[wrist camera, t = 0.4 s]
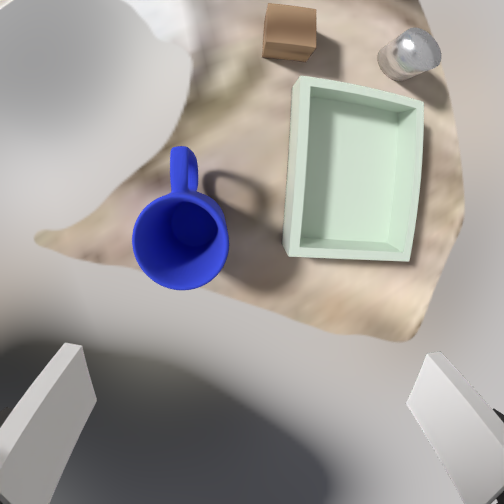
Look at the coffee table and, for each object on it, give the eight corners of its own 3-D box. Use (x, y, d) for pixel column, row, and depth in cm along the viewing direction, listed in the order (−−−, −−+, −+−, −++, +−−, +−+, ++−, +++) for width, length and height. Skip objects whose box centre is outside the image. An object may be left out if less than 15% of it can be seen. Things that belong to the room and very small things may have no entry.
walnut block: (264, 22, 28) (268, 3, 23) (306, 27, 28) (316, 9, 24) (262, 57, 30) (266, 41, 25) (305, 62, 30) (316, 47, 25)
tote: (291, 87, 31) (300, 75, 26) (402, 107, 31) (423, 102, 27) (281, 244, 35) (288, 256, 31) (390, 249, 36) (409, 261, 31)
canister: (376, 41, 29) (402, 22, 22) (410, 52, 29) (439, 36, 22) (377, 75, 30) (405, 60, 24) (412, 85, 31) (442, 74, 24)
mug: (232, 150, 32) (229, 143, 23) (231, 257, 36) (229, 291, 26) (158, 152, 32) (127, 148, 22) (161, 257, 35) (136, 289, 26)
